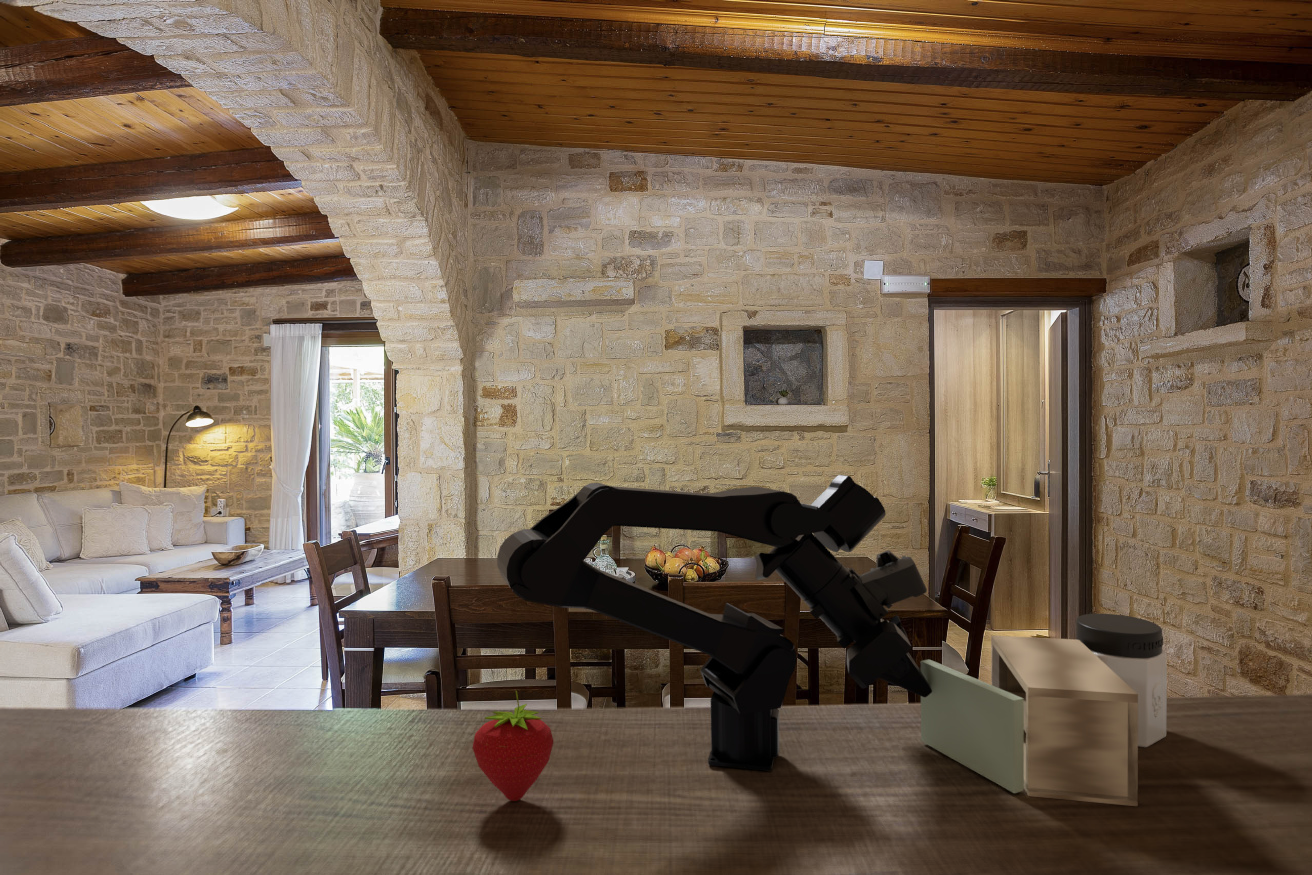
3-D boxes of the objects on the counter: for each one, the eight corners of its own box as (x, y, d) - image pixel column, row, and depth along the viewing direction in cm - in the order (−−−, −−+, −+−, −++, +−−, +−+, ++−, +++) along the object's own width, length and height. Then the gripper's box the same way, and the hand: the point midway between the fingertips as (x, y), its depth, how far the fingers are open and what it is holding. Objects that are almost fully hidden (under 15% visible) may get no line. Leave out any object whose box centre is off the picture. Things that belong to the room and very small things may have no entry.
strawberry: (482, 784, 72) (479, 683, 72) (558, 782, 72) (556, 682, 72) (466, 817, 66) (463, 707, 66) (550, 815, 66) (547, 706, 66)
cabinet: (1028, 795, 68) (1028, 687, 68) (991, 723, 84) (991, 635, 83) (1137, 806, 66) (1137, 694, 66) (1078, 730, 81) (1078, 639, 81)
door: (1014, 793, 68) (1013, 700, 68) (921, 740, 79) (920, 660, 79) (1023, 790, 68) (1023, 698, 68) (929, 738, 79) (929, 659, 79)
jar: (1139, 755, 76) (1139, 639, 75) (1059, 727, 82) (1059, 621, 82) (1177, 732, 80) (1178, 624, 80) (1099, 708, 87) (1099, 608, 87)
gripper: (888, 547, 68) (1012, 674, 67) (870, 518, 87) (967, 617, 85) (801, 625, 70) (919, 750, 68) (801, 581, 88) (894, 679, 87)
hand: (927, 692), depth 77 cm, fingers closed
